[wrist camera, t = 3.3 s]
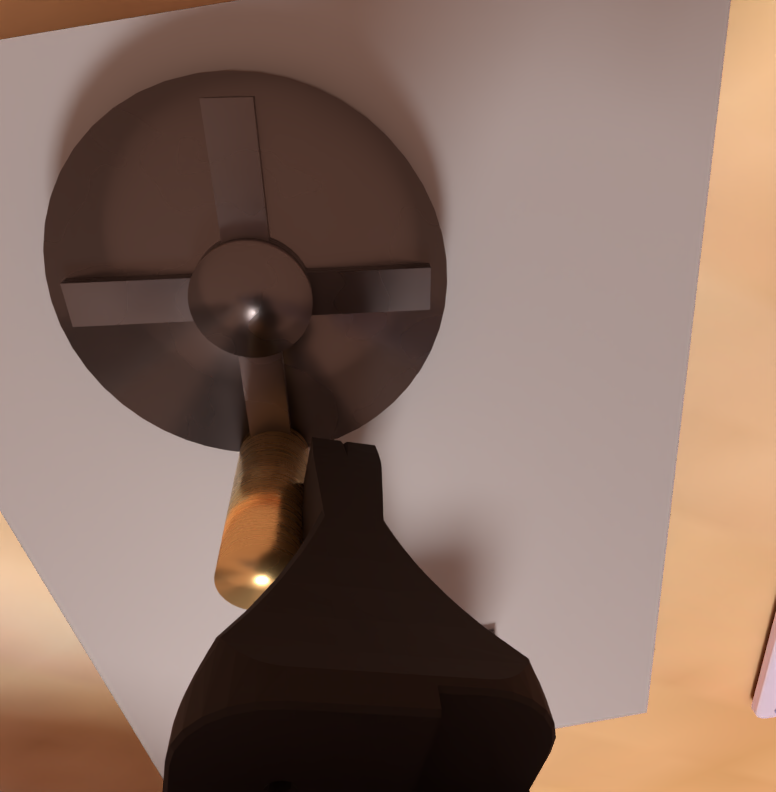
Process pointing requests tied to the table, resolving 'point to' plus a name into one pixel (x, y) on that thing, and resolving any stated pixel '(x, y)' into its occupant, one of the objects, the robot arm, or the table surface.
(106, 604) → the board
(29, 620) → the table surface
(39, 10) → the table surface
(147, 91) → the handwheel
